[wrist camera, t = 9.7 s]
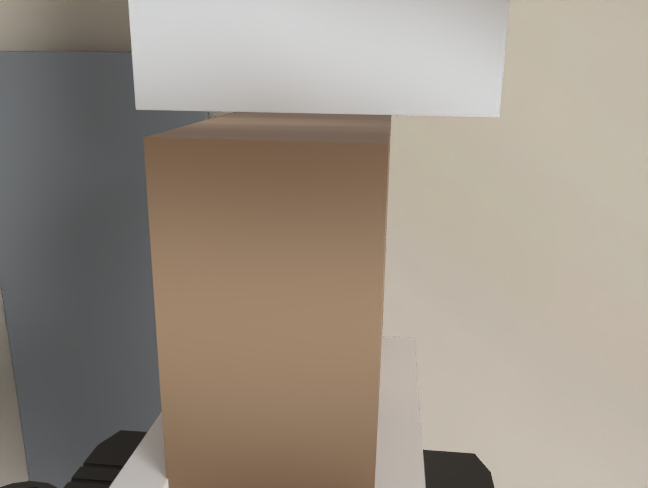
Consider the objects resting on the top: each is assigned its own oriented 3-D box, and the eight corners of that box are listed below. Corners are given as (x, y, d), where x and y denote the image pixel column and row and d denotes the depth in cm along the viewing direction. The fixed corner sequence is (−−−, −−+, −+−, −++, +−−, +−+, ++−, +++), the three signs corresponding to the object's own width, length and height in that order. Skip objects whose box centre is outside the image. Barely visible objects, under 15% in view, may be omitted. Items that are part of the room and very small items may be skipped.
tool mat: (229, 592, 27) (225, 602, 26) (50, 575, 27) (44, 584, 27) (205, 53, 20) (201, 52, 20) (-24, 51, 21) (-34, 50, 21)
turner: (449, 582, 16) (478, 865, 10) (187, 557, 17) (81, 809, 11) (527, -363, 11) (682, -863, 5) (135, -341, 11) (-129, -756, 6)
